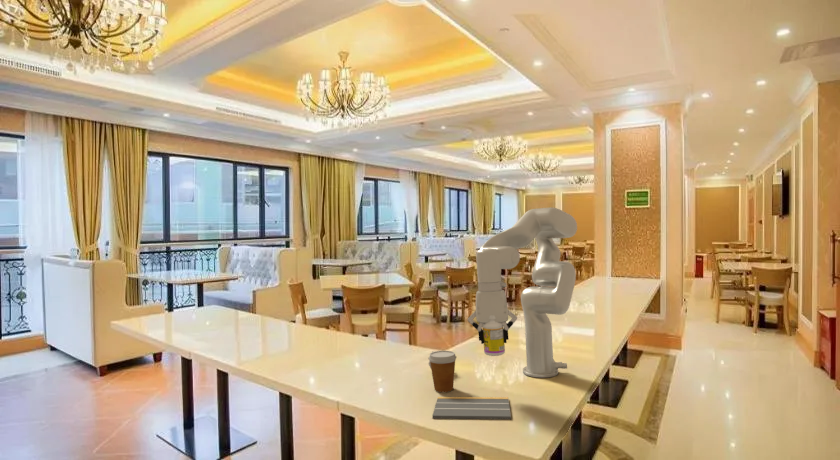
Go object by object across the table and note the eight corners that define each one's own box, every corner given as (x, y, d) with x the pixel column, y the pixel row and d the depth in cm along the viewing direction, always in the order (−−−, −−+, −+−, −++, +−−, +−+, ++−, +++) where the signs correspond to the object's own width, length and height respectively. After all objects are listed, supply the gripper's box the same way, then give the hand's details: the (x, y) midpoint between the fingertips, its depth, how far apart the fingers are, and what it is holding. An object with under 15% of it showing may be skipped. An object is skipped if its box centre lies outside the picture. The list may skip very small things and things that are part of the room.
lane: (508, 399, 140) (508, 396, 140) (510, 419, 125) (510, 416, 125) (438, 399, 143) (437, 396, 143) (432, 418, 128) (432, 415, 128)
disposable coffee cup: (449, 395, 146) (447, 358, 146) (424, 391, 151) (423, 355, 151) (462, 386, 154) (461, 351, 154) (438, 383, 159) (437, 349, 159)
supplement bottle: (483, 351, 148) (480, 312, 148) (503, 350, 148) (500, 311, 148) (485, 357, 142) (482, 316, 142) (506, 355, 142) (503, 315, 141)
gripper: (516, 284, 147) (520, 338, 147) (463, 286, 150) (467, 340, 150) (518, 287, 140) (522, 344, 140) (462, 290, 142) (466, 346, 143)
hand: (493, 341), depth 145 cm, fingers closed on supplement bottle, 6 cm apart
